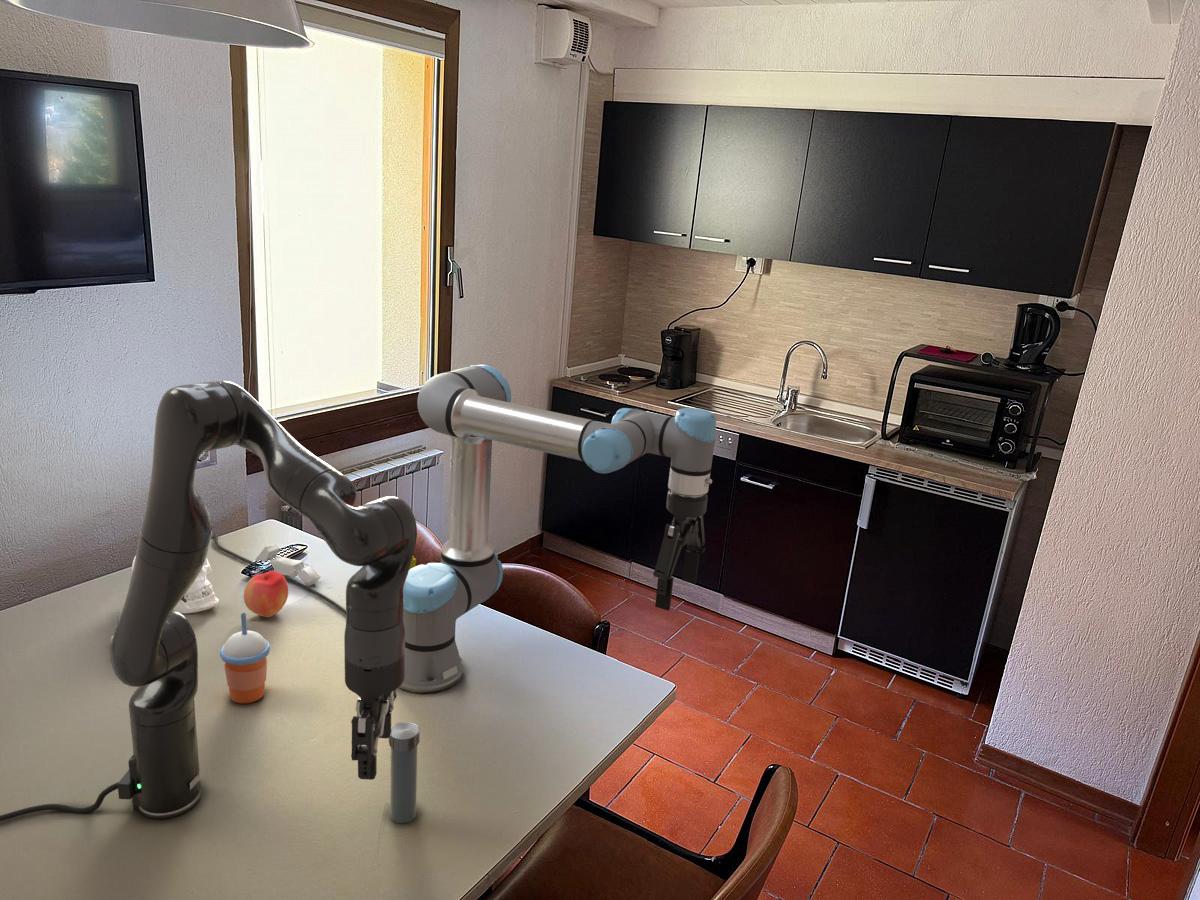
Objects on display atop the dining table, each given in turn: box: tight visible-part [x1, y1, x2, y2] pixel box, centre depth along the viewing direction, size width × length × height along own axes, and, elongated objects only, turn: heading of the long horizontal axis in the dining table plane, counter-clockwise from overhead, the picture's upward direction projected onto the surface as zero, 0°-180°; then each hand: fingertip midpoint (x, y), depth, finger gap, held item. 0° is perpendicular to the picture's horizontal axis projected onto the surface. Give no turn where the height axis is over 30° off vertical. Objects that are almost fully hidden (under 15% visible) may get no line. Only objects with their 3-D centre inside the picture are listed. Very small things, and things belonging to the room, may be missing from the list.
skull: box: [131, 555, 220, 615], centre depth 201 cm, size 13×22×16 cm, turn 73°
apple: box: [243, 571, 289, 618], centre depth 199 cm, size 10×10×10 cm
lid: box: [388, 721, 421, 752], centre depth 138 cm, size 5×5×2 cm
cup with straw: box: [219, 612, 271, 704], centre depth 167 cm, size 9×9×18 cm
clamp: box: [254, 544, 322, 587], centre depth 219 cm, size 20×4×7 cm, turn 62°
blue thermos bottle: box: [389, 746, 418, 824], centre depth 140 cm, size 4×4×16 cm
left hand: (375, 756), depth 114 cm, fingers open, 8 cm apart
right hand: (676, 594), depth 165 cm, fingers open, 13 cm apart
